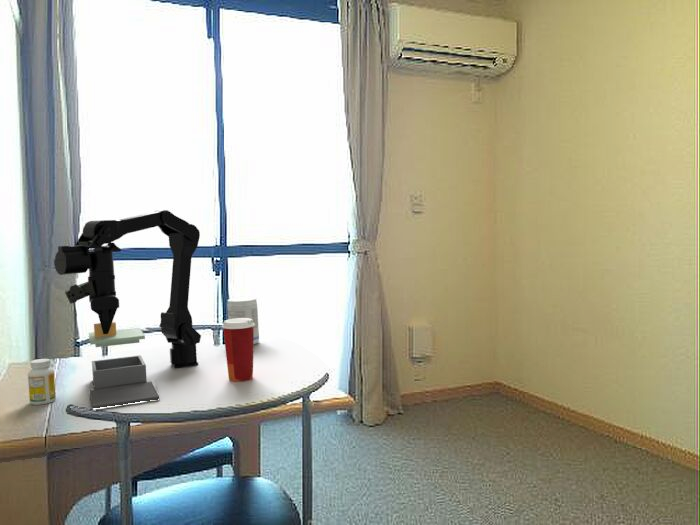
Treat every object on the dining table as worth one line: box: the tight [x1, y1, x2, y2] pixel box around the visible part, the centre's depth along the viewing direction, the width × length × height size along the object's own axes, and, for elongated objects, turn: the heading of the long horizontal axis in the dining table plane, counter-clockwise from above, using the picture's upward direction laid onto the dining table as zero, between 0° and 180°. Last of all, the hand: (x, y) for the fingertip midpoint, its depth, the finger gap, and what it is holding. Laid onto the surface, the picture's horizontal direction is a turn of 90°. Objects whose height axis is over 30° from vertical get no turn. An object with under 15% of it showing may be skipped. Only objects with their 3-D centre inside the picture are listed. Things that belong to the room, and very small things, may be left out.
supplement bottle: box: [27, 358, 57, 406], centre depth 136 cm, size 5×5×10 cm
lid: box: [88, 321, 146, 348], centre depth 150 cm, size 12×12×5 cm
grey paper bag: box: [227, 296, 260, 346], centre depth 193 cm, size 10×10×15 cm
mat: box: [89, 381, 160, 409], centre depth 138 cm, size 14×14×1 cm
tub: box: [91, 355, 148, 390], centre depth 151 cm, size 12×12×5 cm
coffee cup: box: [221, 318, 255, 383], centre depth 151 cm, size 8×8×15 cm
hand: (105, 333), depth 149 cm, fingers closed on lid
